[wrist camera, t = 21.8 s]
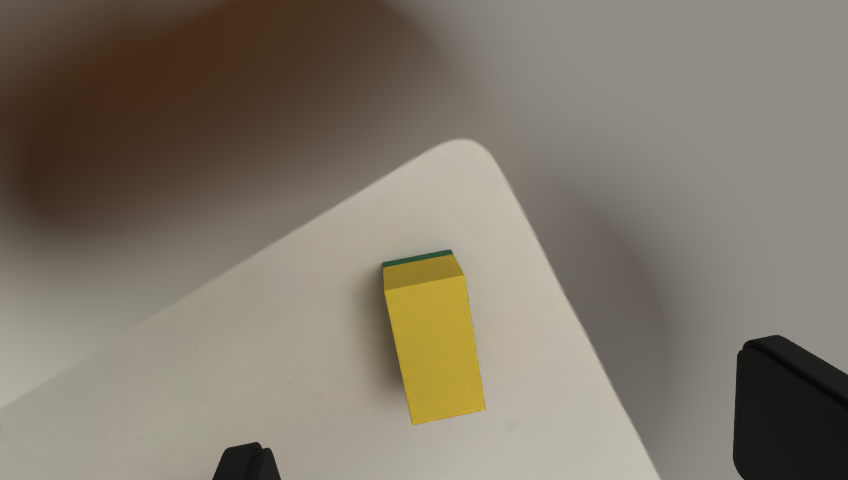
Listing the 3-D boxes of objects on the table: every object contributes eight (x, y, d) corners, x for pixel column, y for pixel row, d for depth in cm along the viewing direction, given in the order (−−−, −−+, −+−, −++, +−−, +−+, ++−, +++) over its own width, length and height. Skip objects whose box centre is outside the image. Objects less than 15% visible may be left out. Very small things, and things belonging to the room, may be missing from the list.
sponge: (450, 249, 32) (464, 274, 27) (470, 367, 34) (485, 410, 30) (382, 262, 32) (383, 290, 27) (406, 380, 34) (412, 425, 29)
